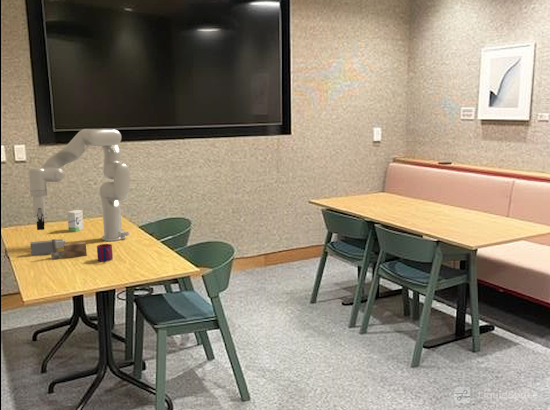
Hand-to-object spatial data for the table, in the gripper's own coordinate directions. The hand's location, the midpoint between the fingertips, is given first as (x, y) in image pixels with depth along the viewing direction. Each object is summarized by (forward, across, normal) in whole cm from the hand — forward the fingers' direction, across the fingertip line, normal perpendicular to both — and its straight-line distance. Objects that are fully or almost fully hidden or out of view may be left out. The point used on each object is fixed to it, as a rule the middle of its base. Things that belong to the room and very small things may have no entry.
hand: (40, 227), depth 256 cm
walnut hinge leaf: (+13, +11, +12) cm, 21 cm away
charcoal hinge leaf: (+13, 0, +3) cm, 13 cm away
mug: (+13, +26, +27) cm, 40 cm away
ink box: (+12, -51, +18) cm, 55 cm away
